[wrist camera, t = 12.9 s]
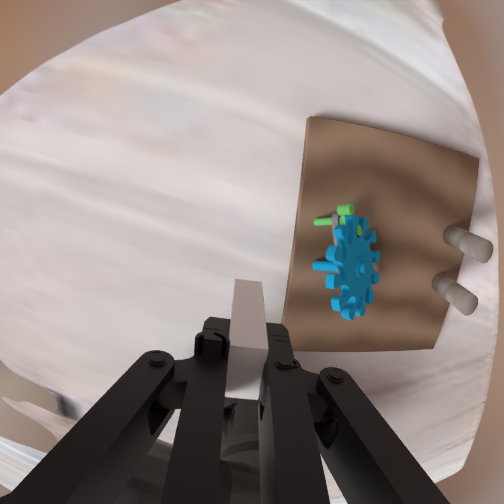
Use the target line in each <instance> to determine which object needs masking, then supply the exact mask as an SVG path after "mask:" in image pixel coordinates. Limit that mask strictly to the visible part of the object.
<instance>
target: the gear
mask: <svg viewBox="0 0 504 504" xmlns="http://www.w3.org/2000/svg"><path fill="white" fill-rule="evenodd" d="M354 212H355V209H354V205H353V204H340V205H338V206H337V212H336V213H333V215H332V217H331V218H315V219H314V225H315V226H322V225H332V231H333V239H334V245H330V246H329V247H328V250H327V253H326V258H327V260H328V261H314V262H313V264H312V268H313V270H318V271H335V272H337V273H327V275H326V288H329V289H338V288H339V287H340V286H341V295H340V296H333V297H332V299H331V305H332V308H333V310H334V311H341V316H342V317H343V318H344V319H347V320H353V319H354V317H355V315H357V316H363V315H365V312H366V308H365V303H366V304H371V303H372V302H373V300H374V292H373V290H372V286H371V284H376V285H377V284H378V281H379V277H380V275H379V273H378V272H376V271H375V270H374V268H373V265H372V263H379V261H380V251H379V250H370V243H376V241H377V238H376V233H375V230H367V229H368V228H369V222H368V220H367V218H366V217H358V216H356V215H353V214H354ZM365 230H367V231H366V233H365V236H364V232H365ZM347 301H348V303H347ZM346 303H347V305H346Z"/></svg>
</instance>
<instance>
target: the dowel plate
mask: <svg viewBox="0 0 504 504" xmlns="http://www.w3.org/2000/svg"><path fill="white" fill-rule="evenodd" d="M478 166H479V158H476V157H473V156H470V155H467V154H464V153H461V152H459V151H455V150H452V149H449V148H446V147H443V146H440V145H437V144H433V143H430V142H426V141H423V140H419V139H416V138H412V137H408V136H404V135H401V134H397V133H393V132H388V131H384V130H380V129H376V128H371V127H366V126H362V125H357V124H352V123H347V122H341V121H336V120H330V119H324V118H318V117H312V116H310V117H309V118H307V122H306V132H305V143H304V153H303V162H302V171H301V180H300V189H299V198H298V206H297V215H296V223H295V231H294V238H293V246H292V254H291V261H290V268H289V275H288V282H287V289H286V296H285V303H284V310H283V316H282V323H281V324H283V325H284V326H285V327H286V328H287V329H288V332H289V337H290V342H291V346H292V350H293V351H314V352H375V351H403V350H422V349H433V348H434V346H435V343H436V341H437V338H438V335H439V333H440V330H441V327H442V324H443V322H444V319H445V316H446V313H447V310H448V307H449V304H450V303H451V304H452V305H453V306H454V307H456V308H457V309H458V310H459V311H460V312H461V313H463V314H464V315H466V316H468V315H470V314H472V313H473V312H474V311H475V309H476V307H477V305H478V298H477V297H476V296H475V295H474V294H472V293H471V292H470V291H468V290H467V289H466V288H464V287H463V286H461V285H460V284H459V283H457V282H456V281H457V277H458V273H459V270H460V266H461V262H462V258H463V254H464V253H465V254H467V255H469V256H471V257H472V258H474V259H476V260H478V261H480V262H481V263H486V262H487V261H489V259H490V258H491V256H492V253H493V245H492V243H491V242H490V241H489V240H486V239H484V238H482V237H480V236H477V235H475V234H473V233H471V232H468V231H469V226H470V221H471V216H472V210H473V204H474V197H475V191H476V183H477V175H478ZM340 204H353V205H354V209H355V212H354V214H353V215H356V216H358V217H366V218H367V220H368V222H369V228H368V229H367V230H375V233H376V238H377V241H376V243H370V250H379V251H380V261H379V263H372V265H373V268H374V270H375V271H376V272H378V273H379V275H380V277H379V281H378V284H377V285H376V284H371V286H372V290H373V292H374V300H373V302H372V303H371V304H366V303H365V308H366V312H365V315H363V316H357V315H355V317H354V319H353V320H347V319H344V318H343V317H342V316H341V311H334V310H333V308H332V305H331V299H332V297H333V296H340V295H341V286H340V287H339V288H338V289H329V288H326V275H327V273H337V272H335V271H318V270H313V268H312V264H313V262H314V261H328V260H327V258H326V253H327V250H328V247H329V246H330V245H334V239H333V231H332V225H322V226H315V225H314V219H315V218H331V217H332V215H333V213H336V212H337V206H338V205H340ZM367 230H365V232H364V236H365V233H366V231H367ZM347 303H348V301H347ZM347 303H346V305H347Z"/></svg>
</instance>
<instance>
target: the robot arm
mask: <svg viewBox="0 0 504 504" xmlns="http://www.w3.org/2000/svg"><path fill="white" fill-rule="evenodd" d="M175 409H181V412H180V416H179V421H178V425H177V429H176V434H175V438H174V443H173V444H170V443H167V442H165V441H162V440H159V439H157V438H158V436H159V435H160V433H161V432H162V430H163V429H164V427H165V426H166V424H167V423H168V421H169V419H170V418H171V416H172V415H173V413H174V411H175ZM320 454H321V456H322V457H323V459H324V461H325V463H326V465H327V467H328V469H329V470H330V472H331V474H332V476H333V478H334V480H335V481H336V483H337V485H338V487H339V489H340V490H341V492H342V494H343V496H344V498H345V499H346V501H347V503H348V504H450V503H449V502H448V500H447V499H446V498H445V497H444V495H443V494H442V493H441V491H440V490H439V489H438V488H437V486H436V485H435V484H434V482H433V481H432V480H431V479H430V477H429V476H428V475H427V473H426V472H425V471H424V470H423V468H422V467H421V466H420V464H419V463H418V462H417V461H416V459H415V458H414V457H413V455H412V454H411V453H410V452H409V450H408V449H407V448H406V446H405V445H404V444H403V443H402V441H401V440H400V439H399V437H398V436H397V435H396V434H395V432H394V431H393V430H392V429H391V427H390V426H389V425H388V423H387V422H386V421H385V420H384V418H383V417H382V416H381V414H380V413H379V412H378V411H377V409H376V408H375V407H374V405H373V404H372V403H371V402H370V400H369V399H368V398H367V397H366V395H365V394H364V393H363V391H362V390H361V389H360V388H359V386H358V385H357V384H356V382H355V381H354V380H353V379H352V377H351V376H350V375H349V374H348V373H347V372H346V371H344V370H342V369H339V368H335V367H328V368H325V369H323V370H322V371H320V374H315V373H311V372H308V371H305V370H303V369H302V368H301V365H300V363H299V361H297V360H296V359H295V358H294V355H293V350H292V346H291V342H290V337H289V332H288V329H287V328H286V327H285V326H284V325H283V324H276V323H266V319H265V309H264V299H263V289H262V282H257V281H248V280H240V279H235V284H234V292H233V301H232V309H231V317H230V319H224V318H216V317H209V318H208V319H207V320H206V321H205V322H204V326H203V330H202V332H200V333H198V334H197V335H196V337H195V349H194V356H193V357H191V358H188V359H184V360H174V358H173V357H172V356H171V355H170V354H169V353H167V352H165V351H160V350H153V351H149V352H146V353H144V354H143V355H142V356H141V357H140V358H139V359H138V360H137V361H136V362H135V363H134V364H133V365H132V366H131V367H130V368H129V369H128V370H127V371H126V372H125V373H124V374H123V375H122V376H121V377H120V378H119V380H118V381H117V382H116V383H115V384H114V385H113V386H112V387H111V388H110V389H109V390H108V391H107V392H106V393H105V394H104V395H103V396H102V397H101V398H100V399H99V400H98V401H97V402H96V403H95V405H94V406H93V407H92V408H91V409H90V410H89V411H88V412H87V413H86V414H85V415H84V416H83V417H82V418H81V419H80V420H79V421H78V422H77V423H76V424H75V425H74V427H73V428H72V429H71V430H70V431H69V432H68V433H67V434H66V435H65V436H64V437H63V438H62V439H61V440H60V441H59V442H58V443H57V444H56V446H55V447H54V448H53V449H52V450H51V451H50V452H49V453H48V454H47V455H46V456H45V457H44V458H43V459H42V460H41V461H40V462H39V463H38V465H37V466H36V467H35V468H34V469H33V470H32V471H31V472H30V473H29V474H28V475H27V476H26V477H25V478H24V479H23V480H22V482H21V483H20V484H19V485H18V486H17V487H16V488H15V489H14V490H13V491H12V492H11V493H9V494H7V495H5V496H3V497H0V504H330V500H329V495H328V490H327V485H326V480H325V475H324V470H323V465H322V461H321V456H320Z"/></svg>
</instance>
